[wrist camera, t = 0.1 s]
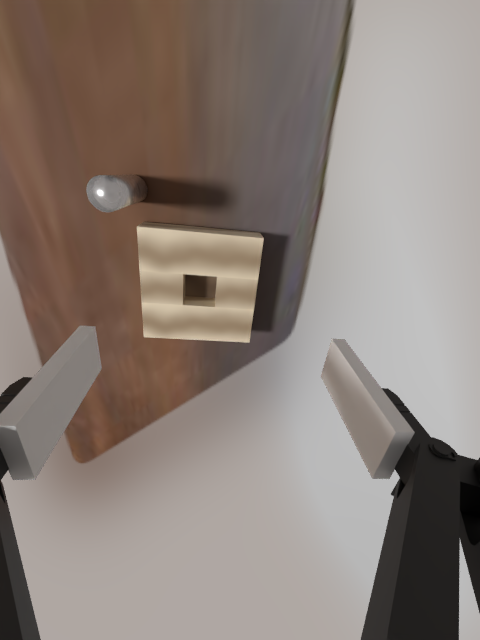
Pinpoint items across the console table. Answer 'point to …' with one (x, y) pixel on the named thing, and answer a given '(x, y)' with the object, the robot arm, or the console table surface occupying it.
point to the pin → (115, 191)
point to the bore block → (198, 281)
